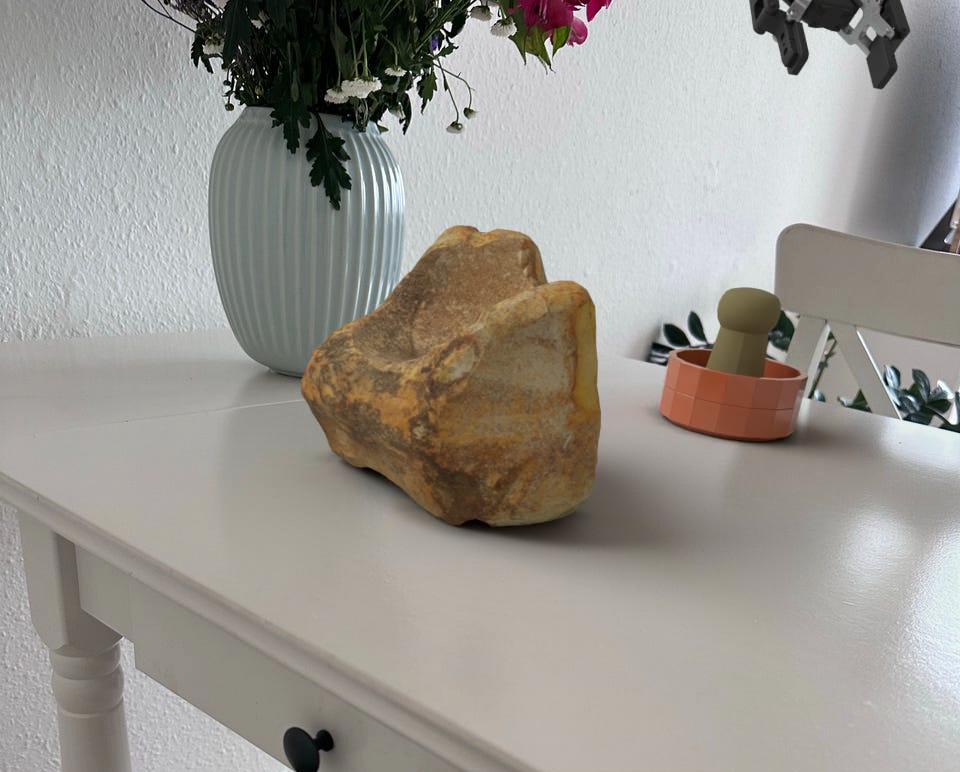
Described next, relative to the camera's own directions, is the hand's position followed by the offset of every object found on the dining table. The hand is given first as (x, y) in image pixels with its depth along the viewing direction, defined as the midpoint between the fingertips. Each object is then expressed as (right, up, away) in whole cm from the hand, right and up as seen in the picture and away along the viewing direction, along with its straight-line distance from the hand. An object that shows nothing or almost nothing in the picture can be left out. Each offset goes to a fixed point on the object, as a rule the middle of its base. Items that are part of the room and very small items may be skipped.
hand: (842, 74), depth 83 cm
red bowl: (-10, -30, +3) cm, 32 cm away
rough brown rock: (-35, -39, -20) cm, 56 cm away
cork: (-10, -29, +2) cm, 31 cm away
